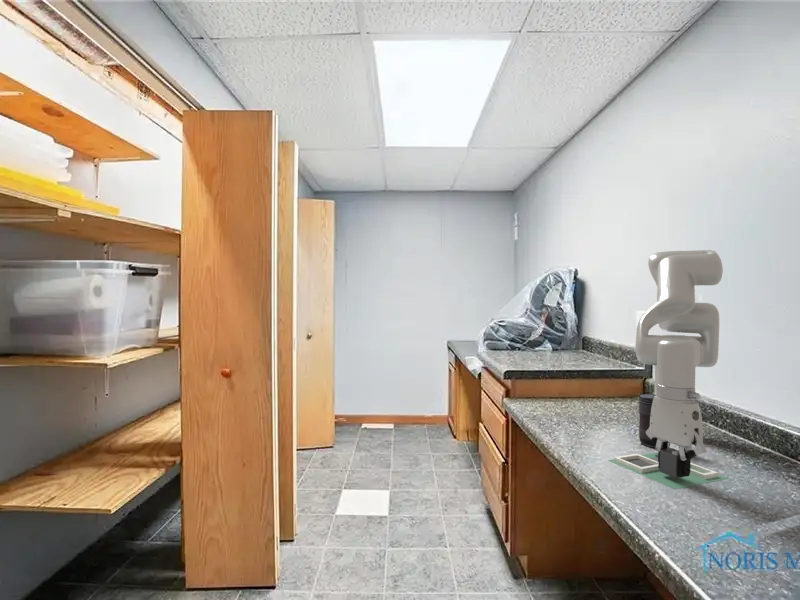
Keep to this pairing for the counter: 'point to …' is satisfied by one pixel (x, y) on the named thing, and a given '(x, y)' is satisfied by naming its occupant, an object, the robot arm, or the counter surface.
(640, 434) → the camera lens
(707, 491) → the counter surface
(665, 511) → the counter surface
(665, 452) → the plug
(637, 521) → the counter surface
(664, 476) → the board
